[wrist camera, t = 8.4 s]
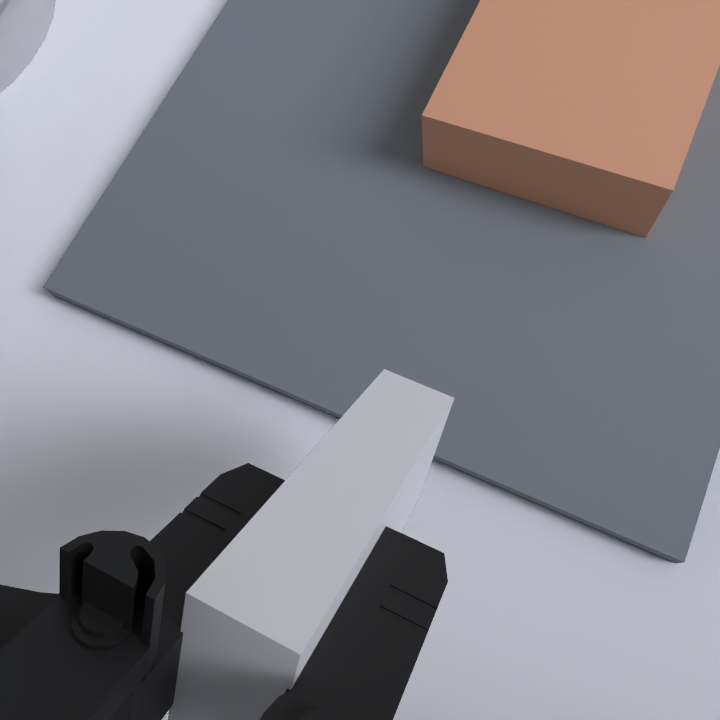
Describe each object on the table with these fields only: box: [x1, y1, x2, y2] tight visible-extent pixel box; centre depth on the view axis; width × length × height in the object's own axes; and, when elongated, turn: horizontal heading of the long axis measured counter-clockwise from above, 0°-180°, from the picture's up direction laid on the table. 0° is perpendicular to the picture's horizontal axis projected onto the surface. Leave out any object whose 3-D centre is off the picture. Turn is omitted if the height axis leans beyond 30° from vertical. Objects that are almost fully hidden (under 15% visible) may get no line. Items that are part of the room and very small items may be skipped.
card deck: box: [422, 0, 720, 238], centre depth 20 cm, size 7×2×10 cm
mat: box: [44, 0, 720, 563], centre depth 21 cm, size 20×20×1 cm
